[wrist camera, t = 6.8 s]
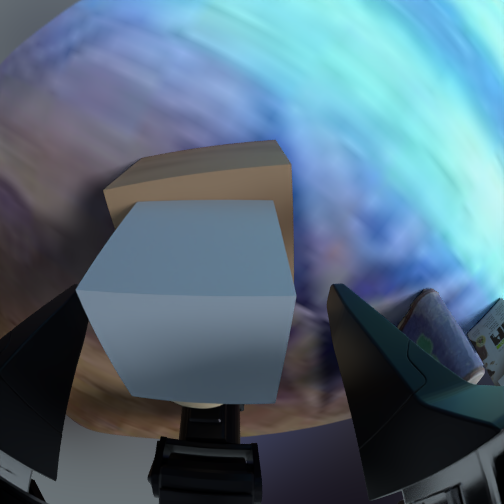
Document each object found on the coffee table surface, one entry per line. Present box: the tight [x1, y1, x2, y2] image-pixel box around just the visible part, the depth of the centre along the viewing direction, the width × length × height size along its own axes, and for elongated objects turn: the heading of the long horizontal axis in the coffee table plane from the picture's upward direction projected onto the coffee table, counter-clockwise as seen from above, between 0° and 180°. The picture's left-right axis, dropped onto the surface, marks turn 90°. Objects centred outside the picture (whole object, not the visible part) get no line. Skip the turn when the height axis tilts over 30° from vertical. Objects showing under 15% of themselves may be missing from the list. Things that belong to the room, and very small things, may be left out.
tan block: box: [103, 140, 294, 313], centre depth 13 cm, size 7×7×5 cm
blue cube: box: [76, 200, 296, 404], centre depth 9 cm, size 5×5×5 cm
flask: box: [397, 289, 485, 384], centre depth 17 cm, size 9×3×11 cm, turn 170°
